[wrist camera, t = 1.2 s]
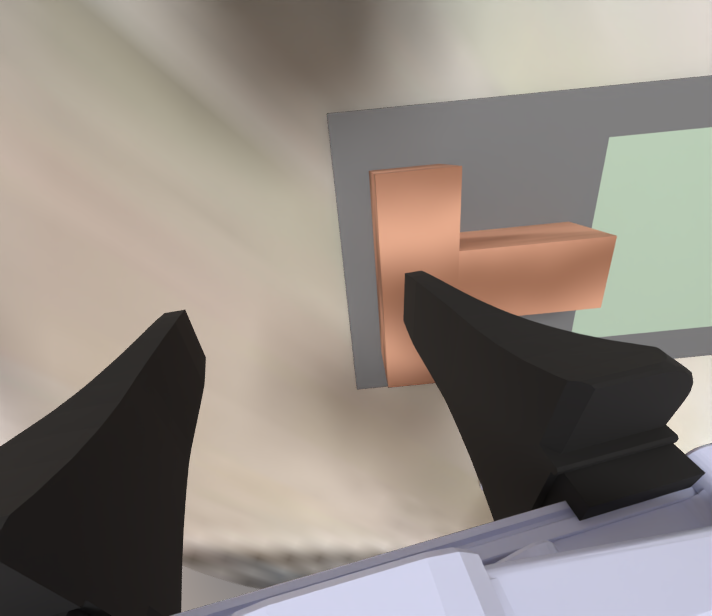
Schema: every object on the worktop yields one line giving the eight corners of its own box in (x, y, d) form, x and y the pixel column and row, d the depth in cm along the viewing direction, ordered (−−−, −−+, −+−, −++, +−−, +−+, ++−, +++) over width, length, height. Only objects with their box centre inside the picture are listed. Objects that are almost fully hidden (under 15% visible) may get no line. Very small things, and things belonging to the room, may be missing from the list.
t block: (550, 335, 24) (587, 368, 21) (381, 352, 24) (388, 387, 21) (580, 149, 19) (636, 148, 16) (368, 170, 19) (375, 174, 16)
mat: (743, 346, 26) (752, 350, 25) (356, 384, 26) (356, 389, 25) (868, 61, 19) (884, 58, 18) (327, 114, 19) (327, 113, 18)
